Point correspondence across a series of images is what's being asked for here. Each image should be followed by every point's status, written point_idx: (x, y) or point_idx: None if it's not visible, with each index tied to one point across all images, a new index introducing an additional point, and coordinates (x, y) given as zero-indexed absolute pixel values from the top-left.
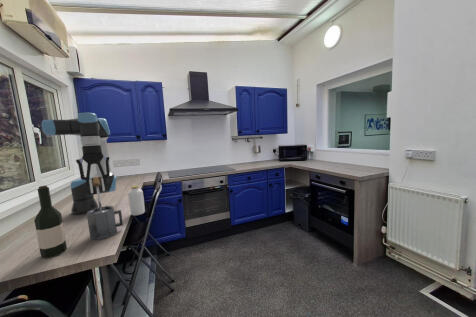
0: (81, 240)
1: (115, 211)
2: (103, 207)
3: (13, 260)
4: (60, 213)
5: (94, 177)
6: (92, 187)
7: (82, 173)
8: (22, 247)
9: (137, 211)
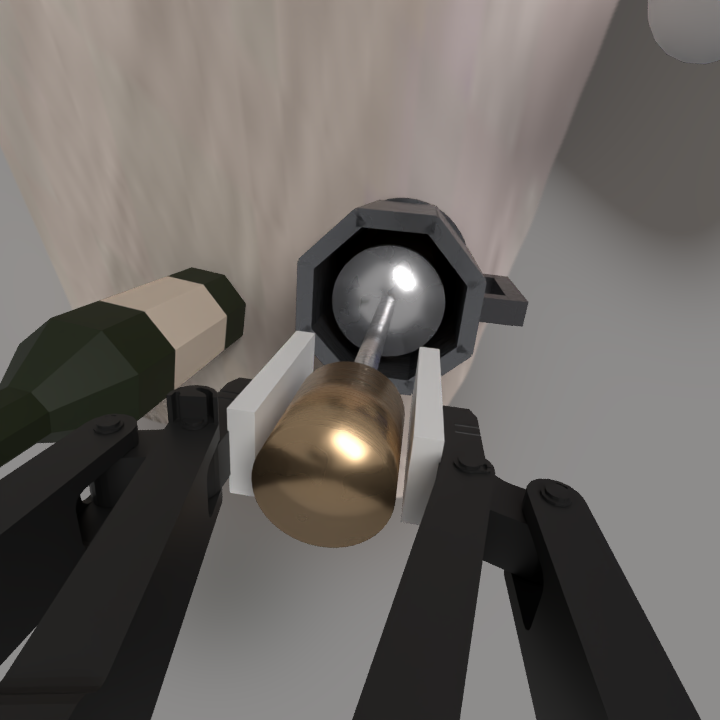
0: (296, 257)
1: (485, 310)
2: (413, 231)
3: (70, 252)
4: (137, 384)
5: (296, 490)
6: (297, 375)
7: (57, 583)
8: (37, 97)
9: (702, 55)
